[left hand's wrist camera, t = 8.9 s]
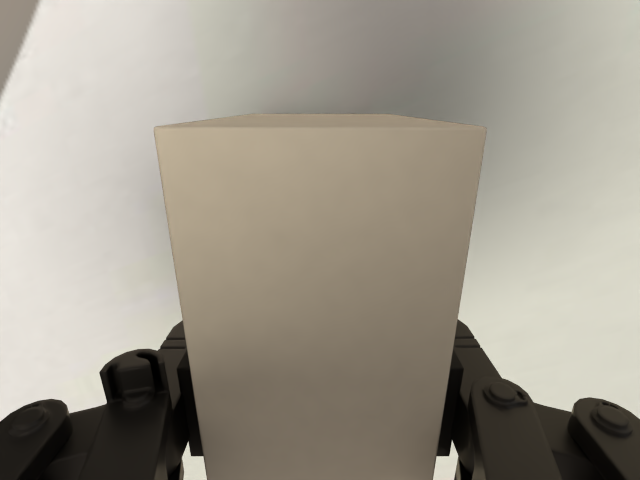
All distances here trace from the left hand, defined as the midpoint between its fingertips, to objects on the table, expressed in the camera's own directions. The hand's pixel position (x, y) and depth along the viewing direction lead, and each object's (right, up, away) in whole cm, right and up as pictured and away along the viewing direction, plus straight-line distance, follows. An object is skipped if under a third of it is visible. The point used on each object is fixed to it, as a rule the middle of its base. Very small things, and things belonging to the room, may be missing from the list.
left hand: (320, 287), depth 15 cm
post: (0, -27, +11) cm, 30 cm away
